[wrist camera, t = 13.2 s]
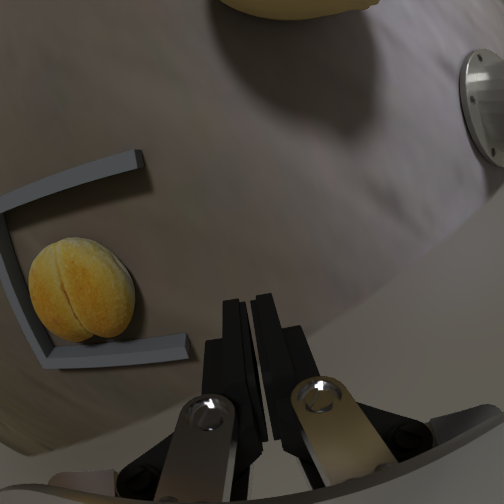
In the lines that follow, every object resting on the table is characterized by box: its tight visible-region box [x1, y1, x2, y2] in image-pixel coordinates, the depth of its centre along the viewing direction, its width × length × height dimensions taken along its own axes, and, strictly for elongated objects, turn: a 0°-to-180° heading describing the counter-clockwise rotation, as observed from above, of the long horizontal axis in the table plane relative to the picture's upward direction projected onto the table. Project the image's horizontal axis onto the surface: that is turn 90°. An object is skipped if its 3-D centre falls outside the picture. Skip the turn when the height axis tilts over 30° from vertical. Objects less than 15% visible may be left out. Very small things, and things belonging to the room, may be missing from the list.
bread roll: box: [28, 237, 135, 342], centre depth 19 cm, size 8×9×4 cm
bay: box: [0, 150, 190, 369], centre depth 19 cm, size 15×15×2 cm
